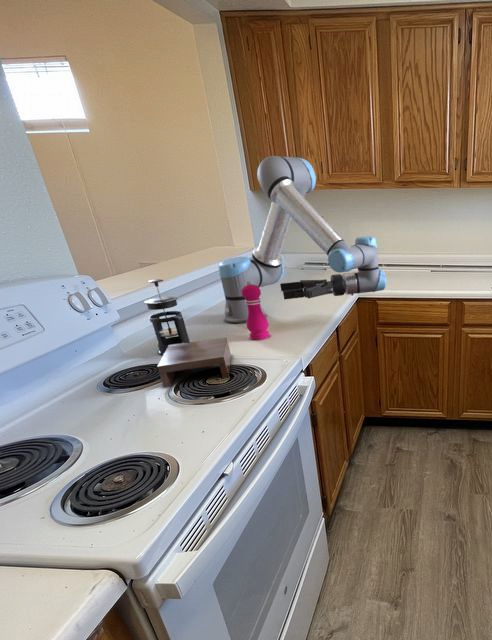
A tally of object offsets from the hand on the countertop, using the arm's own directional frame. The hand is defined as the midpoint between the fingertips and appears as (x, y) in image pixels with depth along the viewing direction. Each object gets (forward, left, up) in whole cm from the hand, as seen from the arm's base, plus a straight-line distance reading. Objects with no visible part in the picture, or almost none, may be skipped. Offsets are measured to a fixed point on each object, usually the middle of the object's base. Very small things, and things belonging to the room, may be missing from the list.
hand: (281, 291), depth 143 cm
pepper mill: (0, -10, -15) cm, 18 cm away
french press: (+2, -36, -15) cm, 39 cm away
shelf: (+24, -27, -15) cm, 39 cm away
